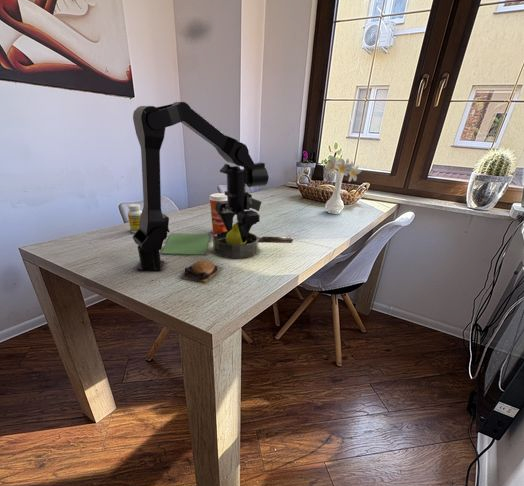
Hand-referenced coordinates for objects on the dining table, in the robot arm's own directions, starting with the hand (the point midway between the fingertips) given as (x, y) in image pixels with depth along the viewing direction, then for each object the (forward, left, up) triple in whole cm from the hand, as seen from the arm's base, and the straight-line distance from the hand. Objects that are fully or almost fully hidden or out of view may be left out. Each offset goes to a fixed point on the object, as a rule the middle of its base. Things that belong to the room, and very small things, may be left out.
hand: (236, 237), depth 104 cm
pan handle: (0, -13, -1) cm, 13 cm away
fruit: (0, 0, -4) cm, 4 cm away
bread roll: (-19, +10, -5) cm, 22 cm away
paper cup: (+19, +6, -5) cm, 20 cm away
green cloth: (+5, +17, -4) cm, 19 cm away
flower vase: (+57, -51, -5) cm, 76 cm away
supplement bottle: (+18, +37, -5) cm, 42 cm away
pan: (0, 0, -4) cm, 4 cm away
